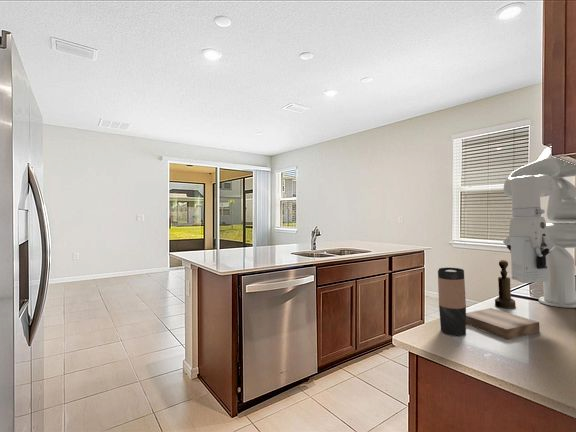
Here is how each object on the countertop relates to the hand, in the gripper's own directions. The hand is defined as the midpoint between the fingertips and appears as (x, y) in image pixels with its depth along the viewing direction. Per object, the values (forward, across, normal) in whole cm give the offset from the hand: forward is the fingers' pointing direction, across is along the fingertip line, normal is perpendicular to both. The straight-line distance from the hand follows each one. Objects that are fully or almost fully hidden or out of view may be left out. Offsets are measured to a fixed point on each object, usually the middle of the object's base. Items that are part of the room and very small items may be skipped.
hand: (528, 266), depth 105 cm
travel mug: (+19, +5, +29) cm, 35 cm away
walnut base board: (+19, +2, +13) cm, 23 cm away
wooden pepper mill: (+20, +16, -9) cm, 27 cm away
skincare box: (+5, 0, 0) cm, 5 cm away
